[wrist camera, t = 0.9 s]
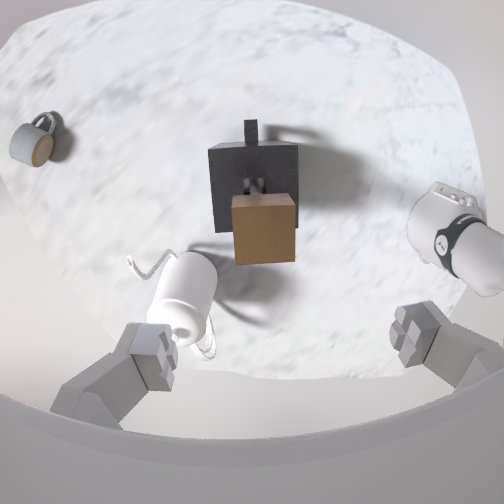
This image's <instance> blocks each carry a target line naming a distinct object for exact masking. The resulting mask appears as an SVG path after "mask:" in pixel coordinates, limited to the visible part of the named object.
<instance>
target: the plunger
mask: <svg viewBox="0 0 504 504" xmlns="http://www.w3.org/2000/svg"><path fill="white" fill-rule="evenodd" d="M243 185H244V195H240V196H233V200H232V206H231V210H232V223H233V236H234V248H235V260H236V265H248V264H265V263H281V262H295V203H294V202H293V200H292V199H291V197H290V196H289V194H288V193H280V194H266V182H265V178H250V179H243Z"/></svg>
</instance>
